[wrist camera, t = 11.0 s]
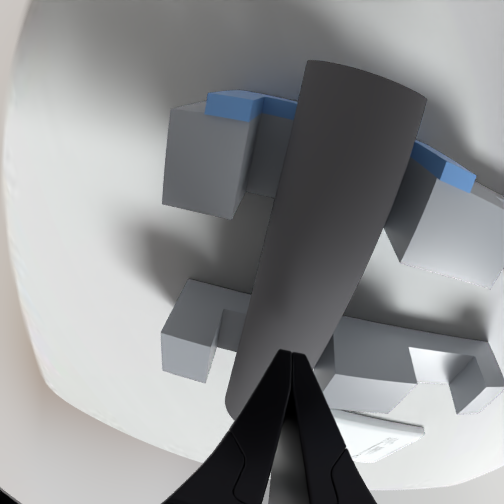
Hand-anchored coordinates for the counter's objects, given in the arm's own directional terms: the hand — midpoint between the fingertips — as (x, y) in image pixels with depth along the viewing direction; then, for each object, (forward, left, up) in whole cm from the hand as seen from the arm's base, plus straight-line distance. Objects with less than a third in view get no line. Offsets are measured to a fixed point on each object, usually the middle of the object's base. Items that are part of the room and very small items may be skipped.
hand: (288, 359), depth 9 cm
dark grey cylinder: (0, 0, -5) cm, 5 cm away
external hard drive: (-11, +18, -7) cm, 22 cm away
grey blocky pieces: (-5, 0, -6) cm, 8 cm away
